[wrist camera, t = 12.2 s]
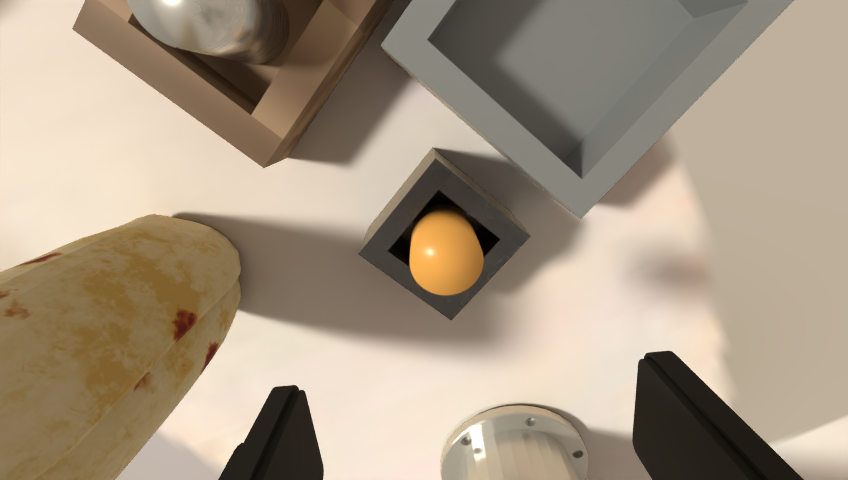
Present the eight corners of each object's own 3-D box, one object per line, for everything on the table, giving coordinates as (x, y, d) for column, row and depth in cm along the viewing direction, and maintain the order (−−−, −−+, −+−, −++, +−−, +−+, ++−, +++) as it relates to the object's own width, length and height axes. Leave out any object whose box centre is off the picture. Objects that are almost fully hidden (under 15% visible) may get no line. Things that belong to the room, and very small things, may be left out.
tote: (721, 17, 23) (797, -4, 19) (552, 198, 27) (580, 219, 22) (553, -178, 20) (593, -262, 16) (388, 56, 24) (380, 45, 19)
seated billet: (304, 14, 22) (256, -22, 16) (263, 80, 23) (202, 73, 17) (235, -44, 21) (152, -109, 15) (196, 28, 22) (102, -2, 16)
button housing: (511, 212, 27) (530, 236, 22) (446, 284, 29) (451, 320, 24) (432, 147, 26) (435, 158, 21) (368, 227, 27) (358, 254, 23)
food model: (120, 232, 27) (-539, 525, 9) (192, 181, 26) (-385, 389, 7) (216, 335, 30) (-120, 724, 11) (285, 293, 29) (36, 649, 10)
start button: (485, 229, 24) (499, 256, 20) (445, 273, 25) (451, 308, 21) (437, 191, 24) (441, 211, 19) (399, 238, 25) (394, 267, 20)
